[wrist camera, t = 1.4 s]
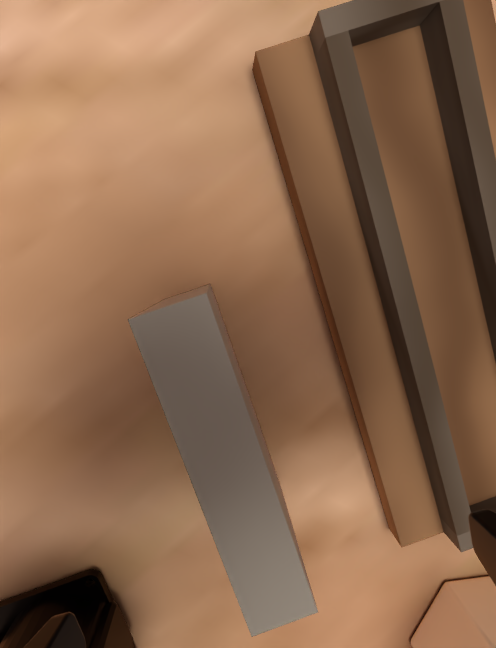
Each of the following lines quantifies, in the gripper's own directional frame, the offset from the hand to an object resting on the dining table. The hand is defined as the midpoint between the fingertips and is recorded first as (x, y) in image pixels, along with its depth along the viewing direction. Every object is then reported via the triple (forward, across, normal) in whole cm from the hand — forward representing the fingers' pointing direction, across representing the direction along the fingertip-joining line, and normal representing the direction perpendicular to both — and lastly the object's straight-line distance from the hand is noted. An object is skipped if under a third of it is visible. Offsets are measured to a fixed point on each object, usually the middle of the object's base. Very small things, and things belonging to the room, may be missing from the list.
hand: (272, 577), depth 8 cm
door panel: (+12, +2, 0) cm, 12 cm away
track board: (+13, -10, -2) cm, 17 cm away
